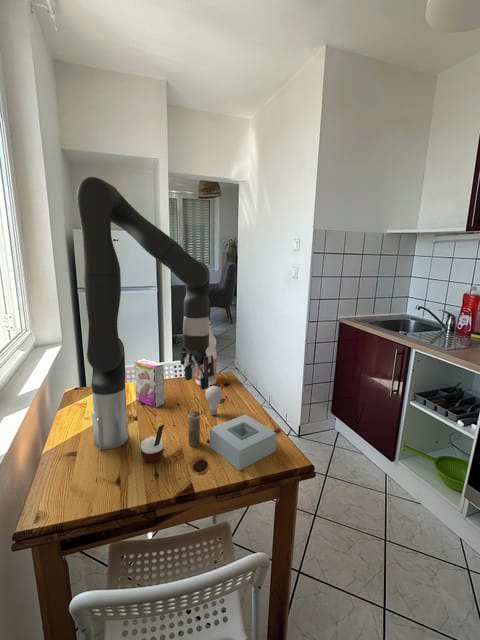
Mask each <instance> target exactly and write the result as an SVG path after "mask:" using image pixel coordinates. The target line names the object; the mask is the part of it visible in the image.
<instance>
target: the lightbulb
mask: <svg viewBox="0 0 480 640" xmlns="http://www.w3.org/2000/svg"><path fill="white" fill-rule="evenodd" d="M205 390H206V391H205V394H204V395H205V399H206V401H207V402H208V407H209V410H210V411H209V413H210V415H212V416H216V415H217V414H218V409H219V404H220V402H221V400H222V399H223V391H222V389H221V388H220V387H219V386H217V385H212V386H208V388H207V389H205Z"/></svg>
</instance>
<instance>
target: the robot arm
mask: <svg viewBox="0 0 480 640" xmlns="http://www.w3.org/2000/svg"><path fill="white" fill-rule="evenodd" d="M76 202H77V208H78V209H77V210H78V216H79V221H80V228H81V236H82V256H83V257H82V258H83V281H84V282H83V284H84V293H85V305H86V312H87V319H88V320H87V321H88V333H87V334H88V337H87V349H86V358H87V362H88V364H89V365H90V367H91V368H92V375H91V384H90V385H91V393H92V394H91V395H92V406H93V412H92V413H91V419H92V431H93V434H92V435H93V442H94V443H95V445H96V446H97V448H98V450H100V451H102V450H107V449H108V450H110V449H114V448H118V447H121V446H122V445H124V444H126V442H127V441H128V439H129V429H128V413H127V412H128V410H127V391H126V359H125V358H126V356H125V345H124V342H123V341H122V340H121V338H119V332H118V317H119V311H120V305H121V294H122V292H121V291H122V281H121V279H122V276H121V266H120V262H119V258H118V255H117V253H116V252H117V251H116V250H115V246H114V242H113V239H112V229H111V228H112V227H111V226H112V224H115V225H116V226H118V227H119V228H121V229H122V230H123V231H124V232H126V233H127V234H129V236H130V237H132V238H133V239H134V240H135V241H136V242H137V244H139V245H140V246H141V247H142V249H144V250H145V251H146V252H147V254H149V255H151V257H153V258H155V260H157V261H158V262H159V263H161V264H162V265H163V266H165V267H167V268H168V269H169V270H170V271H171V272H172V273H173V274H174V275H175V276H176V277H177V279H179V280H180V281H181V282H183V283H184V285H185V297H184V300H183V321H182V346H180V365H181V366H182V365H183V369H184V380H185V381H190V380H192V379H193V366H194V367H195V370H196V369H197V371H199V373H200V375H201V377H200V386H199V387H200V390H202V391H203V390H207V389H208V388H209V386H208V378H209V377H211V376H213V375H214V366H213V356H207V354H206V349H207V348H208V347H209V322H210V319H209V310H210V309H209V307H210V306H209V291H210V281H211V280H210V278H211V277H210V269H209V267H208V266H207V265H206V264H205V263H204V262H202V261H199V260H197V259H195V258H194V257H193V256H191V255H190V253H188V252H187V251H185V250H184V248H183V247H182V246H181V244H179V243H178V242H177V241H175V240H174V239H173V238H171V237H170V236H169V235H168V234H166V233H165V232H164V231H162V230H161V229H159V227H158V226H156V225H154V224H153V223H152V222H151V221H149V220H148V219H146V218H145V217H144V216H143V215H141V213H139V212H138V211H137V209H135V208H134V207H133V206H132V205H131V204H130V203H129V202H128V201H127V199H125V197H124V196H123V195H122V194H121V193H120V191H118V189H117V187H115V186H114V185H112V184H111V183H109V182H107V181H105V180H104V179H101V178H99V177H95V176H90V177H89V176H88V177H86V178H84V179H83V180H82V181H81V182H80V183H79V184H78V187H77V190H76ZM111 223H112V224H111ZM203 363H204V366H202V365H203ZM200 366H202V367H200ZM208 369H210V372H209V370H208ZM203 370H204V373H203Z"/></svg>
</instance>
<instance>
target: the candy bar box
mask: <svg viewBox="0 0 480 640" xmlns="http://www.w3.org/2000/svg"><path fill="white" fill-rule="evenodd" d="M164 370H165V369H164V364H163V363H160V362H156V361H153V360H149V359H147V358H141V359H138V360H135V361H134V376H135V396H136V397H135V398H136V401H138V402H139V403H143V404H145V405H148V406H150V407H152V408H154V409H155V408H156V409H157V408H159V407H161V406H163V405H164V404H165V376H164V374H165V371H164Z"/></svg>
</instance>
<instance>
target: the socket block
mask: <svg viewBox="0 0 480 640" xmlns="http://www.w3.org/2000/svg"><path fill="white" fill-rule="evenodd" d="M276 445H277V432H275V431H273V430H272V429H270V428H268V427H267V426H265V425H264V424H262V423H260V422H259V421H257V420H256V419H254V418H252V417H251V416H248V414H246V413H245V414H243V415H240V416H238V417H235V418H233V419H230V420H227V421H225V422H223V423H220V424H218V425H215V426H212V427H211V428H209V447H210V449H212V450H213V451H215V452H216V453H217V454H218V455H219V456H221V457H222V459H224V460H226V462H228V463H229V464H230V465H232V466H233V467H234V468H235V469H236V470H238V471H242V470H244V469H245V468H247V467H248V466H251V465H254V464H255V463H256V462H259V461H260V460H262V459H264V458H266V457H267V456H270V455H272V453H275V452H276Z"/></svg>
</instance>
